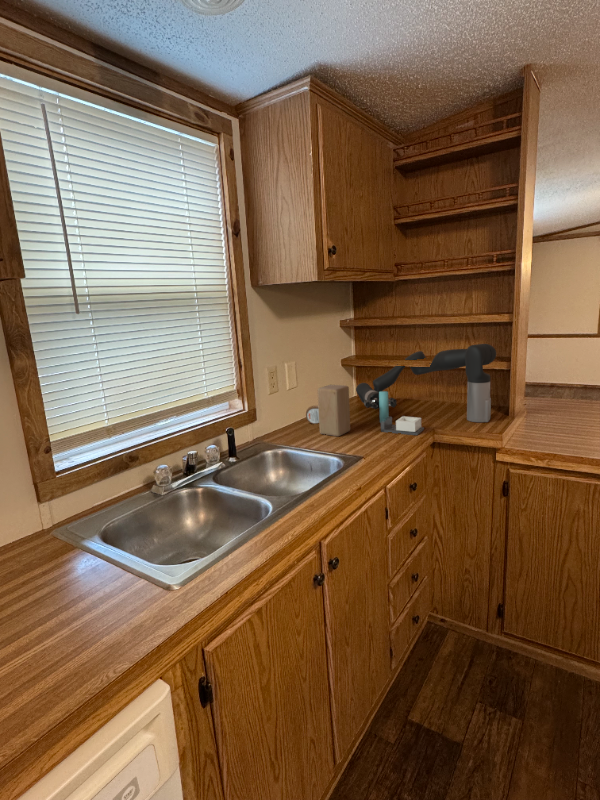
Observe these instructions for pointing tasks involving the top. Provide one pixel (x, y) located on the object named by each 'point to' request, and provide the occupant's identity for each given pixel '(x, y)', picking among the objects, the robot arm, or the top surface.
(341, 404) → the wooden block
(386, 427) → the grey tray
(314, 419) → the tin
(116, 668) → the top surface
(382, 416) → the dowel
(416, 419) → the socket block
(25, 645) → the top surface
